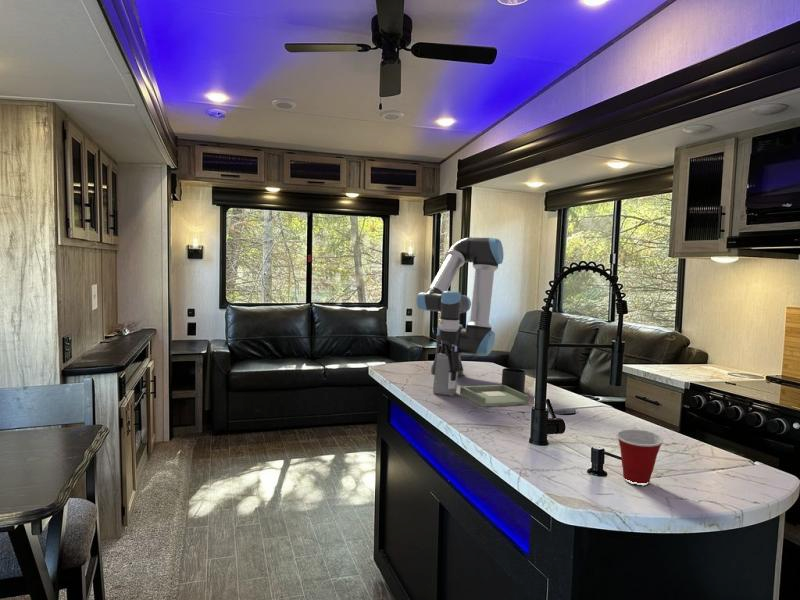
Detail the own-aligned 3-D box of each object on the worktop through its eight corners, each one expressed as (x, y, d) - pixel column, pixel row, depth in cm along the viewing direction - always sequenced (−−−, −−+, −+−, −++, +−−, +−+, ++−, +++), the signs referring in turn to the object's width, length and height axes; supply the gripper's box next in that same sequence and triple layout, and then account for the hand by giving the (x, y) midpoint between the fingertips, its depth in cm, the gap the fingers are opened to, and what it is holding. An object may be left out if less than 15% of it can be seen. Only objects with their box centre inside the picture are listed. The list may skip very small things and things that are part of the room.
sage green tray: (460, 394, 214) (460, 386, 214) (503, 392, 221) (503, 384, 221) (482, 406, 197) (482, 398, 197) (528, 404, 204) (529, 396, 204)
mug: (514, 387, 232) (516, 366, 231) (528, 394, 220) (529, 372, 219) (494, 387, 229) (496, 366, 228) (507, 394, 218) (509, 372, 217)
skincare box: (432, 393, 213) (434, 354, 212) (438, 389, 220) (440, 351, 219) (453, 396, 210) (455, 356, 209) (458, 392, 217) (460, 353, 215)
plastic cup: (603, 476, 137) (606, 430, 136) (632, 470, 142) (636, 426, 141) (638, 493, 127) (642, 444, 126) (669, 487, 132) (673, 440, 131)
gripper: (429, 326, 222) (426, 379, 224) (453, 334, 201) (449, 392, 203) (445, 326, 225) (442, 378, 226) (470, 334, 204) (467, 391, 206)
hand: (445, 385), depth 215 cm, fingers closed on skincare box, 10 cm apart
